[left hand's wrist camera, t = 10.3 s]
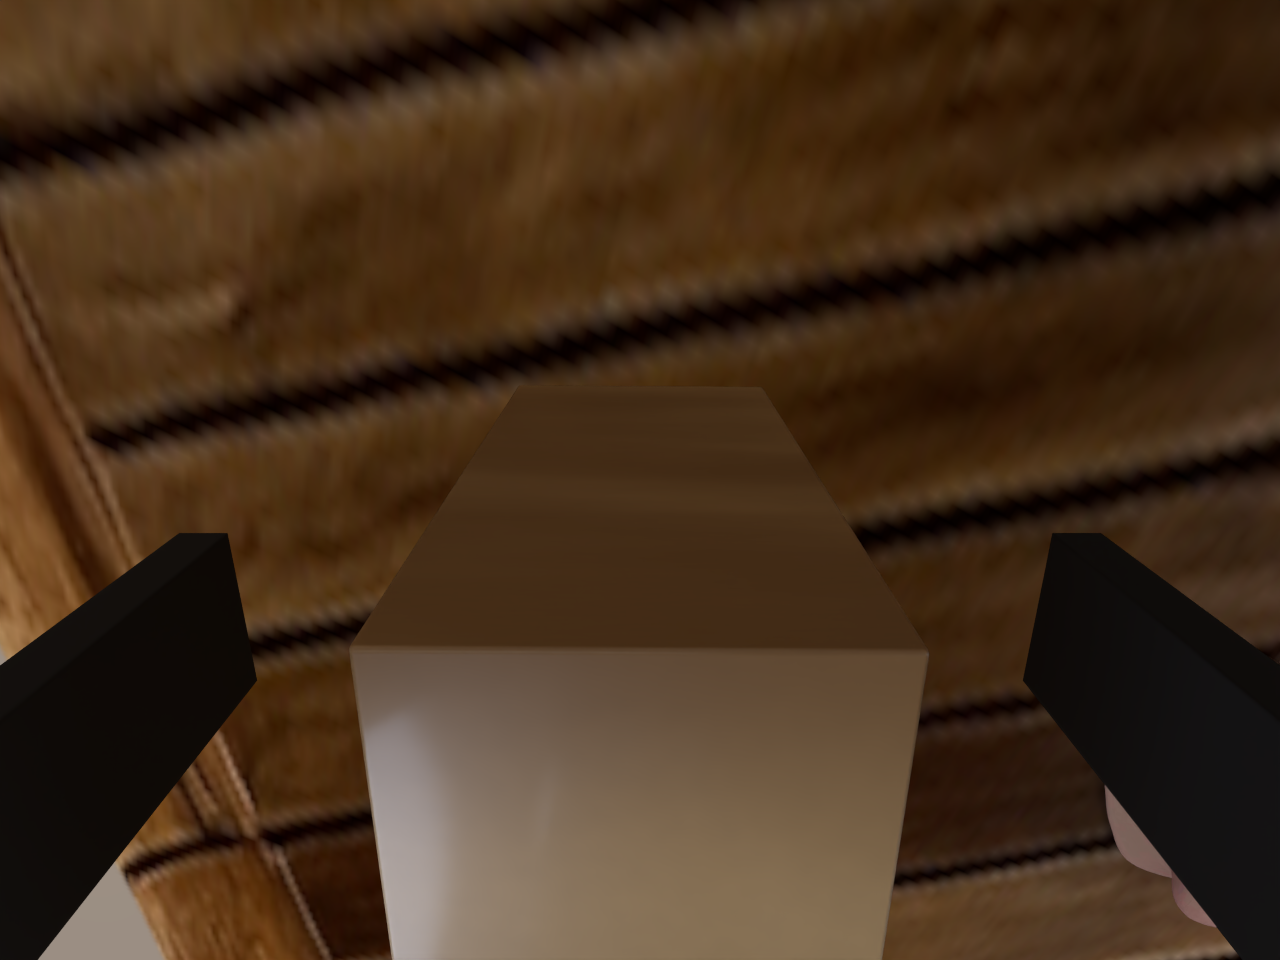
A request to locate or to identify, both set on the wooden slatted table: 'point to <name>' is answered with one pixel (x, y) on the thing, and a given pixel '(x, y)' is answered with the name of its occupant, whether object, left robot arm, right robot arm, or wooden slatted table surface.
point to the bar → (638, 696)
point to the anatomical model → (1149, 857)
